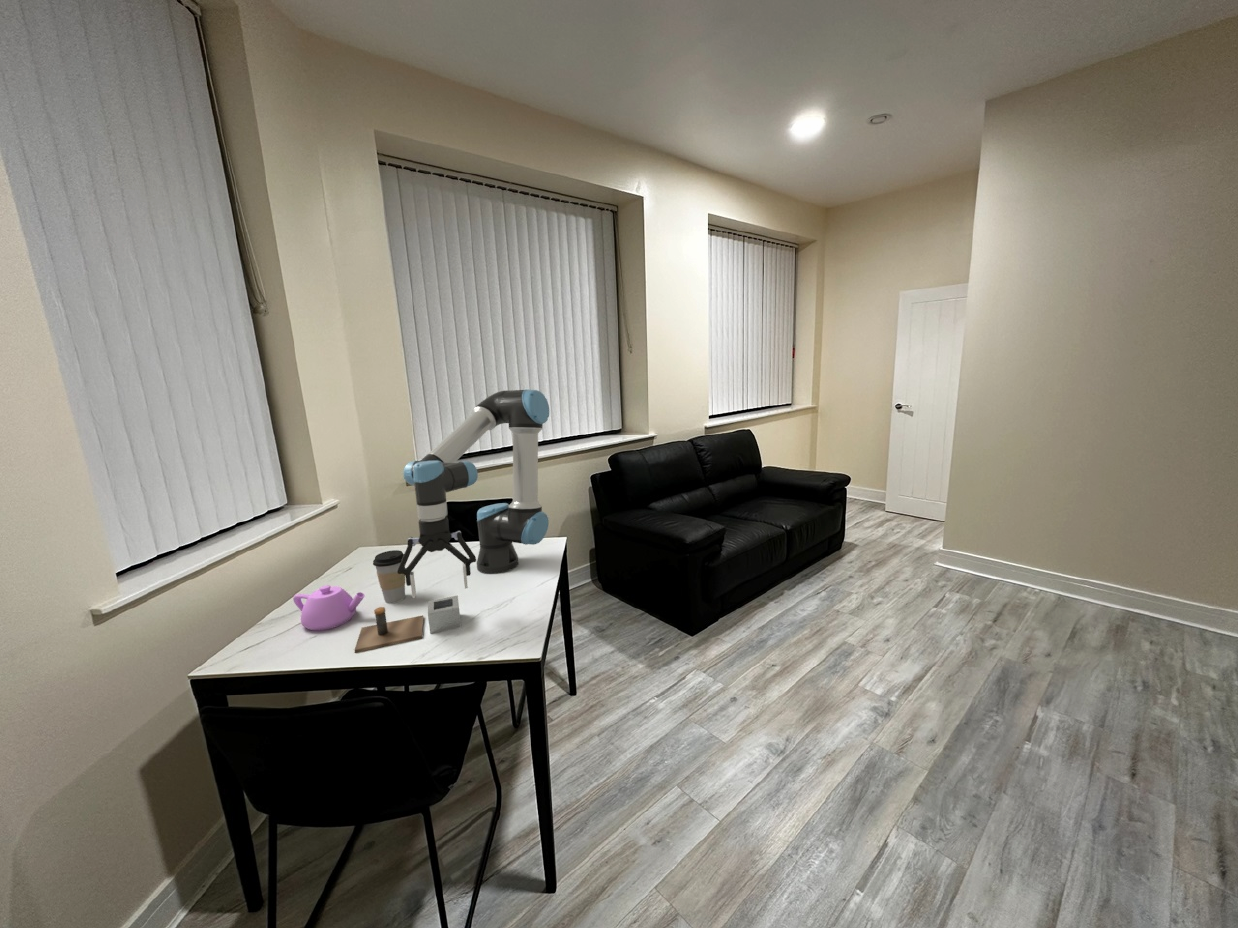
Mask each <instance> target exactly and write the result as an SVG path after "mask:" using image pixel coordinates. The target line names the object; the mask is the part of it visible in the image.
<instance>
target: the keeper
mask: <svg viewBox="0 0 1238 928" xmlns="http://www.w3.org/2000/svg"><path fill="white" fill-rule="evenodd" d="M374 616H375V622H376V624H373V625H368V626H364V627H361V628H360V631H359V634H358V637H357V642H356V644H355V648H354V653H360V652H365V651H369V650H374V649H379V648H383V647H388V646H393V645H397V644H401V643H407V642H411V641H415V640H420V639H423V633H424V632H423V631H424V615H418V616H412V617H409V618H403V619H398V620H393V621H389V622H387V616H386V607H385V606H379V607H377V608H375V609H374Z"/></svg>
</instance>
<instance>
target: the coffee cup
mask: <svg viewBox="0 0 1238 928" xmlns="http://www.w3.org/2000/svg"><path fill="white" fill-rule="evenodd" d="M404 554H405V553H403V551H402V550H398V549H396V550H388V551H383V552H380V553H378V554H376V555H375V556H374V559H373V561H372V565H373V566H374V567H375V569H376V575H377V579H378V582H379V586H380V589H381V592H382V595H383V600H384V602H385V603H386V604H396V603H398V602H401V601H403V600H405V598H406V576H405V575H404V574H398V573H397V571H398V568H399V565H400V563H401V561H402V558H403V556H404ZM404 568H406V566H405V567H404Z"/></svg>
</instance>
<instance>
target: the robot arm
mask: <svg viewBox="0 0 1238 928" xmlns="http://www.w3.org/2000/svg"><path fill="white" fill-rule="evenodd" d="M549 417H550V405H549V402H548V399H547V398H546V396H545V394H543V392H541V391H539V390H537V389H529V388H528V389H518V390H517V389H516V390H513V389H512V390H501V391H497V392H495V393H493V394H491V395H489V396H488V397H486V398H485V399H483V400H482V401H480V402H479V403H478V404H477V405H476V406H475V407H474V408H473V409H472V410H471V414H470V415H469V416H468V417H467V418H466V419H465V420H464V421H463V422H462V423H461V424H459V425H458V426H457V427H455V429H454V430H453V431H451V432H450V433H449V434H448V435H447V436H446V437H445V438H444V439H443V440H442V441H440V442H439V443H438V444H437V445H436V446H435V447H434V448H433V449H432V450H431V451H429V452H428V453H427V454H426V455H425V456H424V457H423V458H421V460H413V461H410V462H408V463H407V464H406V465H405V466H404V468H403V473H402V474H403V478H404V480H405V482H406V483H407V484H409V486H410V485H411V486H414V492H415V493H414V494H415V502H416V511H417V518H418V519H419V520H418V529H419V536H418V537H413V536H409V537H408V538H407V547H406V550H405V551H404V553H403V554H404V556H403V558H402V561H401V563H400V565H399V568H398V571H397V573H398V574H404V575H405V585H406V586H407V587H409V586H410V588H411V589H410V590H411V597H412V599H414V598H416V596H417V593H416V592H417V591H416V582H415V571H414V569H415V567H416V566H417V564H418V563H420V561H421V559H422V558H423V557H424V556H425V554H426V553H427V552H429V553H434V552H442V551H443V550H446V551H448V552H450V553H451V554H452V555H453V556H455V558H457V559H458V560H459V561H461V562H462V574H463V584H464V589H468V588H469V587H468V577H469V576H471V573H472V572H471V564H473V563H476V569H477V571H478V572H480V573H482V574H500V573H505V572H509V571H511V570H513V569H515V568H516V567H518V565H519V564H520V561H519V555H518V553H517V551H516V548H515V547H514V544H515V543H516V544H523V545H533V546H535V545H538V544H539V543H540V542H542V540H544V538H545V536H546V535H547V532H548V529H549V522H550V519H549V517H548V515H547V513H546V512H544V511H543V506H542V503H540V501H538V498H539V497H538V495H539V494H538V491H539V489H538V487H539V486H538V485H539V482H538V479H539V477H538V475H539V474H538V473H539V469H538V468H539V466H538V464H539V461H538V460H539V457H538V456H539V453H538V452H539V433H540V432H542V430H543V424H546V422H547V421H548V419H549ZM502 424H503V425H504V424H508V429H509V430H510V431H511V433H512V501H511V503H510V504H509V503H507V502H502V503H501V502H500V503H494V504H490V505H486V506H483V507H481V508H479V509H478V510H477V512H476V519H477V520H476V524H477V533H478V534H477V535H478V539H479V540H478V542H479V550H478V554H477V556H475V554H474V552H473V551H472V549H471V548H470V546H469V545H468V543H467V542H466V541H465V540H464V538H463V536H462V531H461V530H457V531H455V532H450V525H449V518H448V504H447V493H449V492H454V491H458V490H461V489H466V488H468V487H470V486H473V485H474V484H475V483H476V482H477V480H478V476H479V475H478V469H477V467H476V466H475V464H474V463H473V462H471V461H467V460H465V461H459V462H458V460H459V459H460V458H461V457H462V456H463V455H464V454H465V453H466V452H467V451H469V449H470V448H471V447H472V446H474V444H475V443H476V442H477V441H479V439H480V438H481V437H482V436H484V434H486V433H487V432H488V431H493V430H494V429H495V428H496V427H497V426H499V425H502ZM452 538H454V541H457V542H458V543H459V544H460V546H461V548H462V549H463V551H464V552H465V553H466V555H467V556H468V557H467V556H466V555H464V553H462V552H461V551H460V550H458V549H457V548H456V547H455V546H454V545H453V544H452V543H451V540H452ZM417 543H419V545H420V546H421V547H420V550H419V551H418V553H417V554H416V555H415V556H414V557H413V559H412V560H411V562H410V563H409V564H408V565H407V562H408V559H409V557H410V556H411V553H412V550H413V547H415V546H416V545H417ZM513 543H514V544H513ZM476 557H477V558H476ZM406 565H407V567H406ZM404 567H405V568H404Z"/></svg>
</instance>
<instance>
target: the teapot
mask: <svg viewBox="0 0 1238 928" xmlns="http://www.w3.org/2000/svg"><path fill="white" fill-rule="evenodd" d="M365 597H366V596H365V594H364V593H363V592H361V591H360V592H357V593H356V595H355V596H354V597H352V595H351V594H350V593H348V592H347V590H345V589H344V588H343V587H342V586H341V587H340V586H337V585H336V586H335V585H334V586H331V585H330V584H327V585H323V586H321V587H319V588H318V589H317V590H314V591H313V592H312V593H311V594H305V593H298V594H295V595H294V596H293V599H292V600H293V603H294V605H295V606H296V607H297V609H299V610H300V611H301V614H300V623H301V625H302V626H303V627H304V628H306V629H308V630H311V631H326V630H329V629H334V628H336V627H337V628H338V627H339V626H341V625H343V624H345V623H347V622H348V621H350V619H352V617H353V616H354V614H355V613H356V611H357V607H358V606H359V605H360V603H361V602H362V601H363V600H364V598H365ZM302 599H306V601H305V602H304V603H303V602H302Z"/></svg>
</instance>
